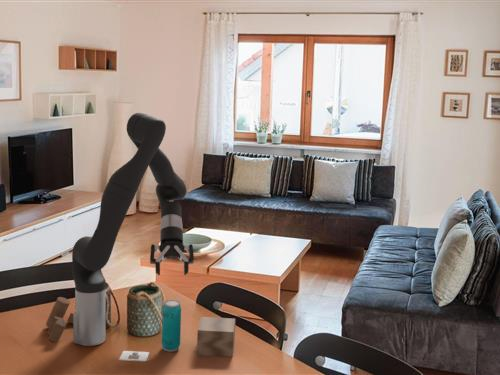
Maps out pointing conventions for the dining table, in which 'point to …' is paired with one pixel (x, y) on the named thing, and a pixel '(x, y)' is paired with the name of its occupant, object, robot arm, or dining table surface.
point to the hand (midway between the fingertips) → (172, 274)
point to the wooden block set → (58, 319)
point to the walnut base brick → (216, 336)
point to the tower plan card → (134, 356)
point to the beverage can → (171, 325)
